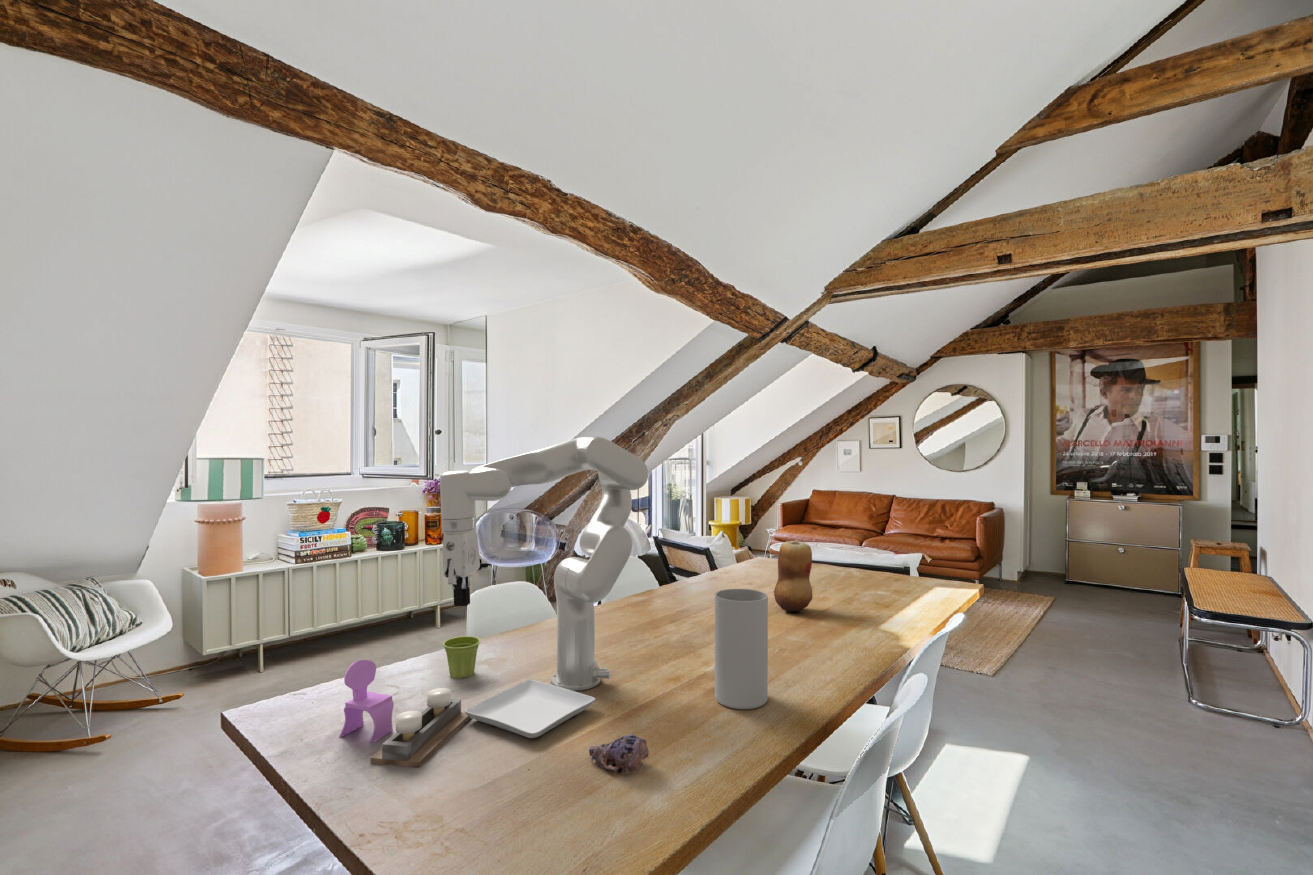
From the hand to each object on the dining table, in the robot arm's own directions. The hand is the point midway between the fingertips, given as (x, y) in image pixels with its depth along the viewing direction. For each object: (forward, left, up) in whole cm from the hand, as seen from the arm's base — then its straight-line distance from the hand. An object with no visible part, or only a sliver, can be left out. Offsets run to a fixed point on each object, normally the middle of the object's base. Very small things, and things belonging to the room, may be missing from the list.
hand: (462, 604), depth 147 cm
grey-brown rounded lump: (-41, +18, -25) cm, 51 cm away
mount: (+1, +14, -24) cm, 28 cm away
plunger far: (+1, +8, -22) cm, 24 cm away
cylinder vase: (-63, -17, -24) cm, 69 cm away
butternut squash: (-79, -99, -24) cm, 129 cm away
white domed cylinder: (+1, +20, -22) cm, 30 cm away
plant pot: (+10, -21, -24) cm, 34 cm away
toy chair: (+14, +14, -24) cm, 32 cm away
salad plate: (-17, 0, -25) cm, 30 cm away
